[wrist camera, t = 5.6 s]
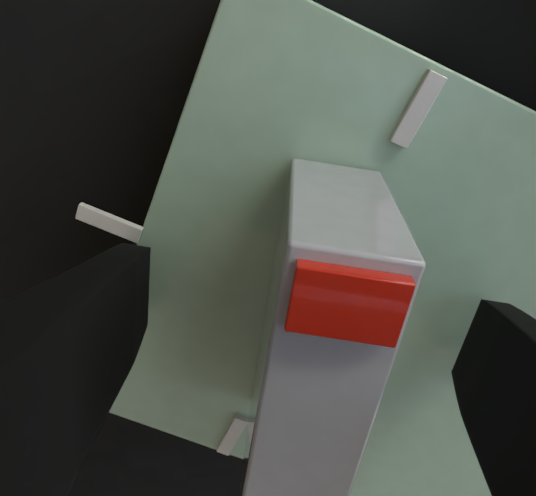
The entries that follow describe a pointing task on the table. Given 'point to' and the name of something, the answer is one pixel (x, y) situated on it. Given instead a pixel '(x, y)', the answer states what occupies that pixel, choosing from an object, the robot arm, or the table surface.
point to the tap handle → (328, 330)
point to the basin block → (270, 213)
